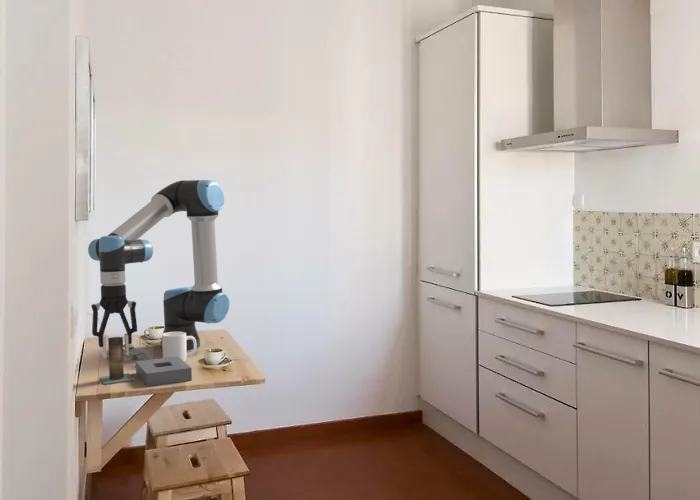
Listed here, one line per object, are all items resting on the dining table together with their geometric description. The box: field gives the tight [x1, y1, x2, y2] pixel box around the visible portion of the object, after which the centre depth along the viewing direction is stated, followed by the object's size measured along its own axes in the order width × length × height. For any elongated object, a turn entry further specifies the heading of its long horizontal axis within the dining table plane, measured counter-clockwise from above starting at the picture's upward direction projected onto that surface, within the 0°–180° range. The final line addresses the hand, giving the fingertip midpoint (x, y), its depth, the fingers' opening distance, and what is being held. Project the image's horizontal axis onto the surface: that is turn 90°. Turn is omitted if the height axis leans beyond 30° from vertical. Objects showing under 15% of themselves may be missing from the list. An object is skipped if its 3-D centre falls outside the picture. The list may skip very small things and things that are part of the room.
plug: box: [107, 336, 125, 380], centre depth 220 cm, size 4×4×13 cm
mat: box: [99, 372, 135, 386], centre depth 220 cm, size 9×9×1 cm
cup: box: [161, 332, 198, 363], centre depth 244 cm, size 8×12×10 cm
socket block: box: [135, 356, 193, 387], centre depth 223 cm, size 18×14×4 cm
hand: (115, 355), depth 220 cm, fingers open, 6 cm apart
